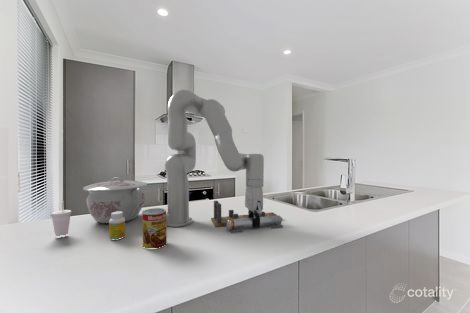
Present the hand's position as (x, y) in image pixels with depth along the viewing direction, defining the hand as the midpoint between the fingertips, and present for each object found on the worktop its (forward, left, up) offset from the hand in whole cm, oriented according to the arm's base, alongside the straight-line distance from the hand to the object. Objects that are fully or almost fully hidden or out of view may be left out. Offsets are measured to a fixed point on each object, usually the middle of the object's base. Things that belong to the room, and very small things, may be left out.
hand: (254, 225), depth 96 cm
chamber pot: (-59, +30, -1) cm, 66 cm away
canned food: (-40, -6, -1) cm, 40 cm away
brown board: (0, +11, -1) cm, 11 cm away
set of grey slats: (0, 0, -1) cm, 1 cm away
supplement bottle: (-54, +5, -1) cm, 54 cm away
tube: (0, 0, -1) cm, 1 cm away
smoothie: (-75, +13, -1) cm, 76 cm away
